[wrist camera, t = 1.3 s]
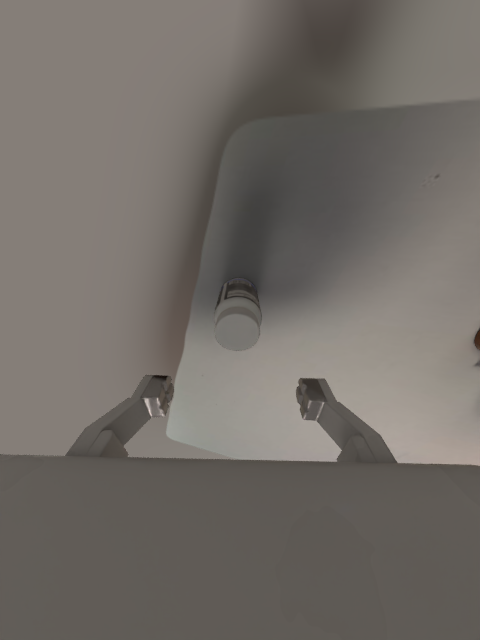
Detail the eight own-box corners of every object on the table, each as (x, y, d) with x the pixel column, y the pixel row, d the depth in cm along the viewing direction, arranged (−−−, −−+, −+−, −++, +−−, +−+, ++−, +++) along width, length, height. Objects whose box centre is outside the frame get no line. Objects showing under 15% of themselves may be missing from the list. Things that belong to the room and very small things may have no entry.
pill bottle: (238, 317, 24) (236, 362, 17) (212, 294, 23) (198, 333, 15) (265, 295, 23) (275, 335, 15) (239, 268, 21) (237, 299, 14)
